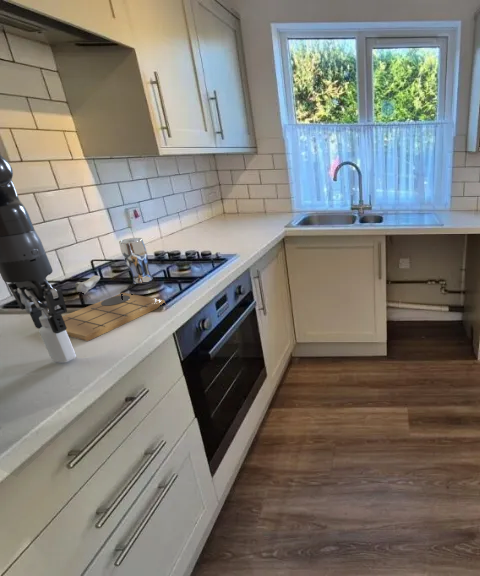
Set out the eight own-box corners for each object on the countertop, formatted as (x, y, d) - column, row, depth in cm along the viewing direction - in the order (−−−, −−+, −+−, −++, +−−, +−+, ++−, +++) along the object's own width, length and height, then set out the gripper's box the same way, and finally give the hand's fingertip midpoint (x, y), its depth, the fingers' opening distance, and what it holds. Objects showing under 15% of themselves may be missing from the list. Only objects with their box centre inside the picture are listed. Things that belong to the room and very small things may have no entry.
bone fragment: (102, 282, 126) (99, 272, 125) (89, 294, 116) (85, 284, 115) (87, 284, 125) (83, 274, 124) (72, 296, 115) (68, 286, 114)
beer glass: (126, 284, 123) (112, 242, 118) (144, 277, 130) (132, 236, 124) (141, 286, 121) (128, 243, 116) (159, 279, 127) (147, 238, 122)
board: (87, 341, 89) (85, 335, 88) (43, 329, 95) (40, 324, 95) (165, 304, 108) (164, 299, 107) (124, 296, 114) (122, 292, 113)
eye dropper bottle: (75, 349, 85) (56, 303, 80) (77, 359, 81) (57, 311, 76) (51, 356, 82) (30, 309, 77) (51, 367, 78) (29, 318, 73)
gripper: (-25, 257, 71) (11, 331, 78) (18, 264, 66) (52, 343, 73) (22, 246, 78) (51, 316, 84) (63, 252, 73) (91, 326, 79)
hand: (51, 328), depth 78 cm, fingers closed on eye dropper bottle, 5 cm apart
